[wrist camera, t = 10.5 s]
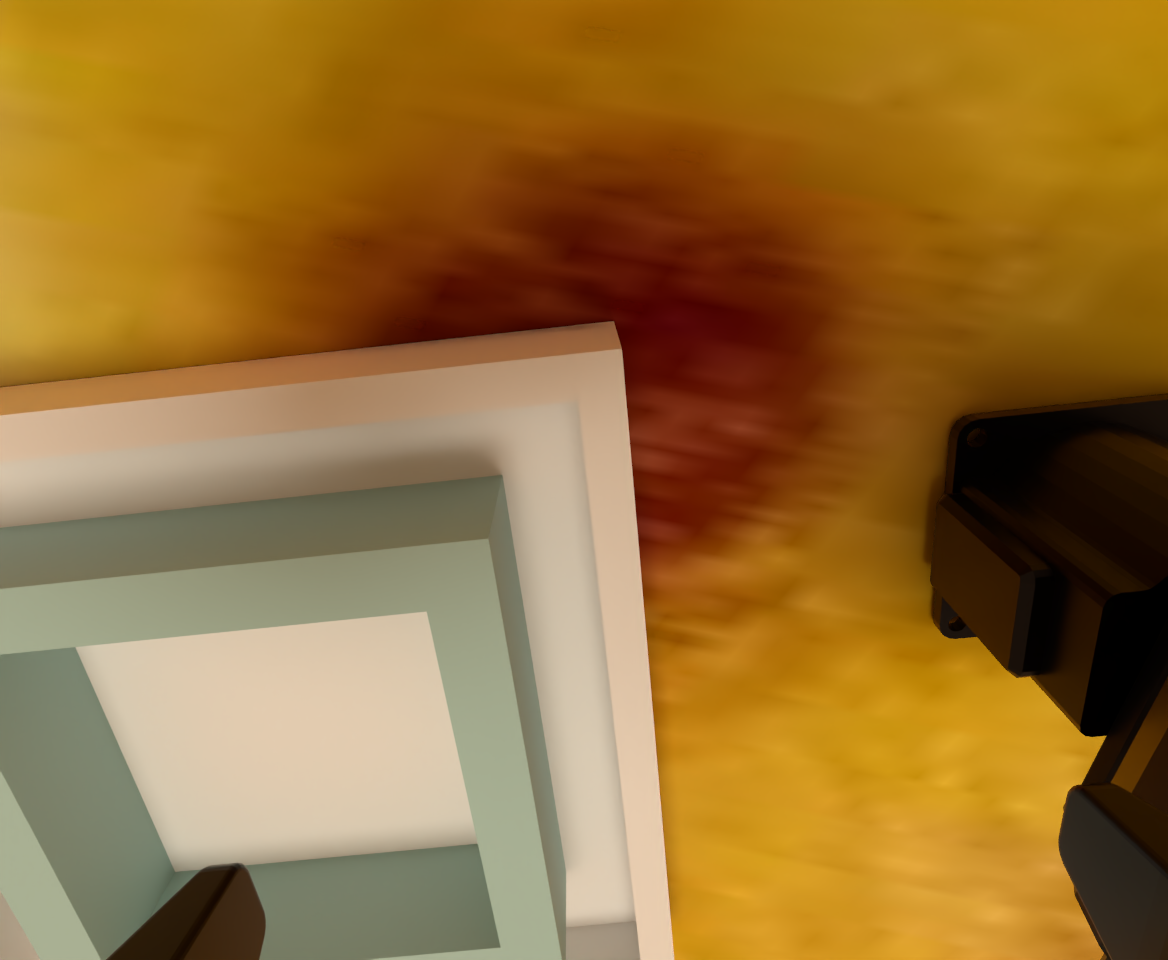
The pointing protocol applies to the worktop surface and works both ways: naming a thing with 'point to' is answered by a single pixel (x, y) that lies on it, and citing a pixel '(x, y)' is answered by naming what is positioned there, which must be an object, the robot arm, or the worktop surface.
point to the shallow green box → (261, 600)
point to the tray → (375, 644)
